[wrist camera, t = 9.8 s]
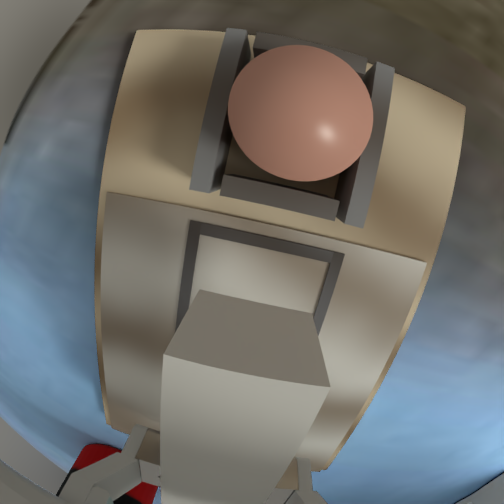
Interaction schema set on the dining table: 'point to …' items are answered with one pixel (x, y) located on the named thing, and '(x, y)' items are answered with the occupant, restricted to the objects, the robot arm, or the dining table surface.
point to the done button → (300, 113)
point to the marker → (236, 399)
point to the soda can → (134, 500)
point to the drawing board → (262, 224)
